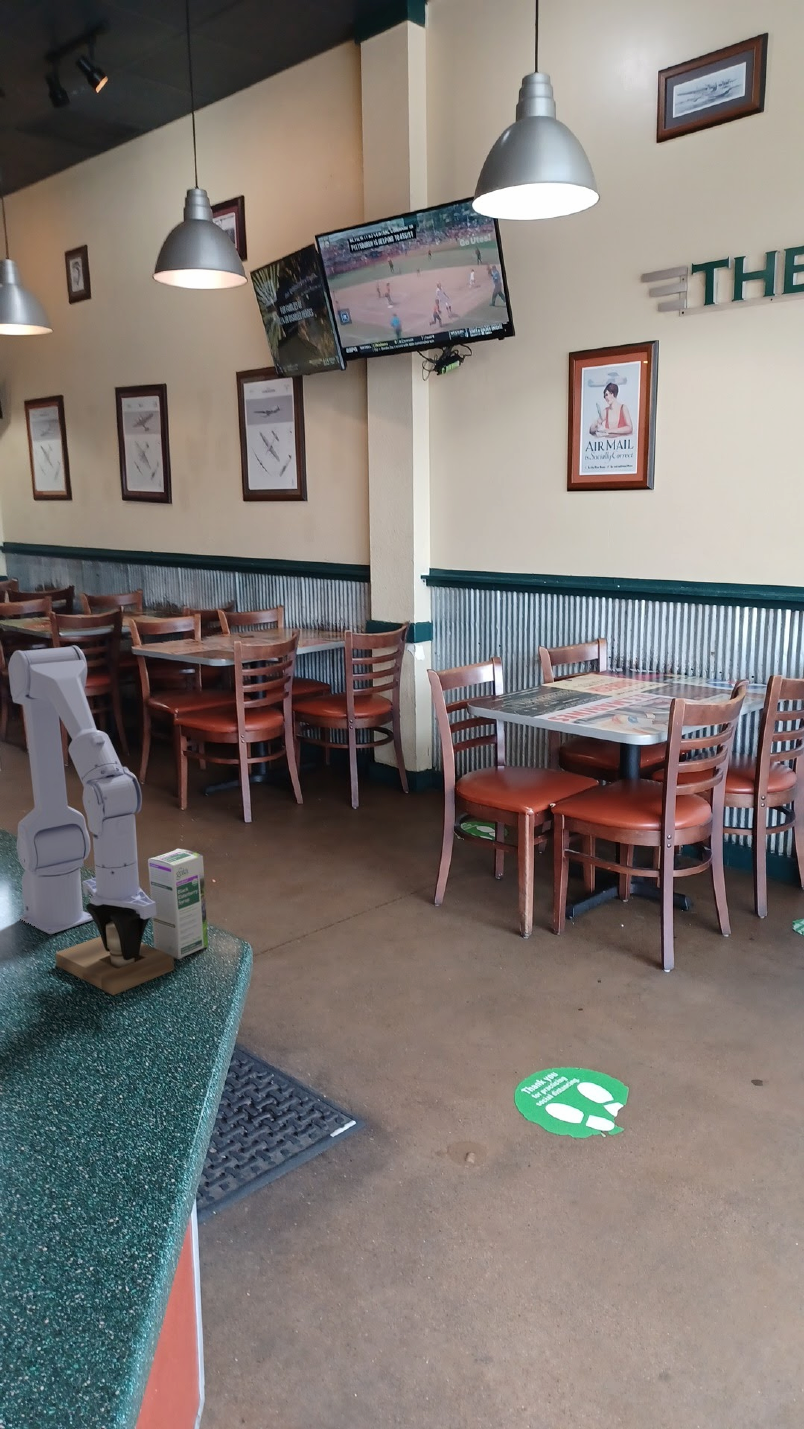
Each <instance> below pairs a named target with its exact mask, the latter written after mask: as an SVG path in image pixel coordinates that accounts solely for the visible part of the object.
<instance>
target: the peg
mask: <svg viewBox="0 0 804 1429" xmlns="http://www.w3.org/2000/svg"><path fill="white" fill-rule="evenodd" d="M106 935H107V947H108V949H110V957H111V966H113V967H115V968H117V969H119V968H121V967H124V966H126V965H129V964H131V963H134V962H135V960H134V958H132V959H130V960H124V958H123V956H122V952H121V946H120V939H119V935H118V932H117V929H116V927H115V925H114V923H113V921H112V922H110V923H108V924H107V925H106Z"/></svg>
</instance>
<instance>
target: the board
mask: <svg viewBox="0 0 804 1429" xmlns="http://www.w3.org/2000/svg"><path fill="white" fill-rule="evenodd" d="M174 959H175V958H174V957H173V956H171V955H169V954H167V953H164V952H162V951H160V950H158V949H155V948H154V946H151V945H148V944H146V943H144V942H141V947H140V952H139V956H137V957H135V958H134V960H135V962H134V963H131V964H129V965H126V966H124V967H121V968H119V969H117V968H115V967H113V966H111V957H110V951H109V952H107V951H106V950H105V947H104V945H103V942H102V939H101V936H100V935H99V936H98V937H94V938H92V939H90V940H87V941H84V942H81V943H79V944H75V945H72V946H70V947H67V948H64V949H61V950H59V951H56V952H55V964H56V965H55V966H57V967H58V968H59V969H62V970H64V971H65V972H68V973H70V974H72V975H74V976H75V977H77V978H79V979H81V980H83V981H85V982H87V983H89V984H91V985H93V986H94V987H96V988H98V989H100V990H102V991H104V992H106V993H108V994H110V995H112V996H115V995H118V994H120V993H123V992H125V991H127V990H130V989H132V988H135V987H136V986H139V985H141V984H144V983H146V982H149V981H151V980H153V979H156V978H158V977H160V976H163V975H165V974H168V973H170V972H172V971H174V970H175V962H174Z"/></svg>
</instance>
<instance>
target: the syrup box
mask: <svg viewBox="0 0 804 1429" xmlns="http://www.w3.org/2000/svg"><path fill="white" fill-rule="evenodd" d="M147 866H148V877H149V878H148V880H149V893H150V894H149V895H150V899H151V900H152V901H154V902H156V915H155V916H153V917H151V920H152V933H153V948H155V949H158V950H160V951H162V952H164V953H167V954H169V955H171V956H173V957H174V959H177V960H182V959H183V958H184V957H186V956H189V955H190V954H193V953H195V952H197V951H199V950H200V951H201V950H203V949H206V948H208V946H209V936H208V922H207V920H208V919H207V918H208V917H207V906H206V903H207V902H206V888H205V886H206V885H205V872H204V869H205V868H204V856H203V855H202V854H200V853H197V852H196V851H192V850H188V849H183V848H176V849H174V850H172V851H169V852H166V853H164V854H161V855H157V856H155V857H150V858H148V859H147Z"/></svg>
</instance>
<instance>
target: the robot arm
mask: <svg viewBox="0 0 804 1429" xmlns="http://www.w3.org/2000/svg"><path fill="white" fill-rule="evenodd" d="M87 664H88V663H87V658H86V657H85V654H84V651H83V650H82V649H80V647H79V646H77V645H75V644H74V645H70V646H65V647H55V648H54V647H52V648H41V649H30V650H20V649H19V650H15V651H13V653H12V655H11V656H10V659H9V662H8V667H7V669H8V677H9V686H10V694H11V697H12V702H13V704H19V705H22V706H23V712H24V718H25V726H26V727H25V728H26V737H27V746H28V748H27V749H28V757H29V765H30V775H31V783H32V784H31V785H32V795H33V803H34V805H33V806H34V807H33V809H32V810H31V811H30V812H28V814H26V815H25V816H24V817H23V818H22V819H21V820H20V821H19V822H18V823H17V840H16V853H17V857H18V861H19V863H20V865H21V867H22V868H23V869H24V872H23V874H22V877H21V890H22V902H23V914H22V915H20V916H18V919H19V920H20V919H21V920H20V921H22V920H23V921H22V922H24V921H25V922H24V923H26V924H28V923H29V924H28V925H30V924H31V925H30V926H32V927H34V926H35V927H34V928H36V929H38V930H40V931H42V932H45V933H47V934H48V935H53V934H55V933H56V934H57V933H58V932H59V933H60V932H62V931H64V930H68V929H70V928H73V927H77V926H79V925H81V924H85V923H87V922H90V921H94V924H95V925H96V927H97V930H98V933H99V937H100V936H101V939H102V942H103V945H104V947H105V950H106V951H107V952H109V951H110V949H108V947H107V935H106V925H107V924H108V923H110V922H112V921H113V923H114V925H115V927H116V929H117V932H118V935H119V939H120V946H121V952H122V956H123V958H124V960H130V959H132V958H135V957H137V956H139V952H140V947H141V942H142V941H143V937H144V933H145V931H146V928H147V925H148V923H149V921H150V919H151V918H152V917H153V916H155V915H156V902H154V901H152V900H151V898H150V896H148V895H147V894H146V892H144V891H143V889H142V888H141V887H140V880H139V879H140V878H139V876H140V875H139V864H138V863H139V862H138V844H137V830H136V829H137V828H136V827H137V826H136V815H135V814H139V812H140V811H141V810H142V805H143V802H142V801H143V794H142V790H141V786H140V783H139V781H138V778H137V776H136V775H135V774H134V773H133V772H131V771H130V770H129V768H128V767H127V766H123V765H122V764H121V761H120V758H119V757H118V755H117V753H116V750H115V748H114V746H113V744H112V740H111V739H110V737H109V734H107V733H106V732H105V731H101V730H98V729H97V726H96V724H95V720H94V717H93V714H92V711H91V709H90V705H89V701H88V698H87V696H86V692H85V688H86V684H87V677H88V665H87ZM60 720H61V722H62V724H63V725H64V728H65V729H66V730H67V733H68V735H69V737H70V738H71V742H70V744H69V746H68V753H69V756H70V758H71V760H72V763H73V765H74V767H75V770H76V772H77V775H78V777H79V779H80V782H81V784H82V787H83V789H82V790H83V792H82V796H81V797H82V804H83V807H84V808H83V809H84V812H85V814H86V817H87V818H85V816H84V815H83V814H82V813H81V812H80V811H78V809H77V810H76V809H75V808H73V807H71V806H69V805H68V796H67V786H66V785H67V784H66V775H65V774H66V773H65V765H64V764H65V763H64V756H63V755H64V754H63V744H62V735H61V725H60V724H61V723H60ZM86 819H87V822H86ZM86 823H87V824H86ZM87 827H88V828H87ZM88 829H89V831H88ZM89 832H91V833H92V845H93V859H94V872H95V874H94V875H95V877H92V878H89V879H86V880H83V881H81V880H82V879H81V867H83V866H84V865H85V864H84V861H85V860H87V859H88V857H89V855H90V852H91V849H92V848H91V837H90V835H89ZM82 889H83V890H82ZM82 892H83V893H82ZM82 894H83V895H86V896H90V895H92V896H91V897H90V898H89V903H87V904H86V906H85V909H86V911H87V912H86V911H84V910H83V909H84V907H83V895H82ZM142 943H143V942H142Z"/></svg>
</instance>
